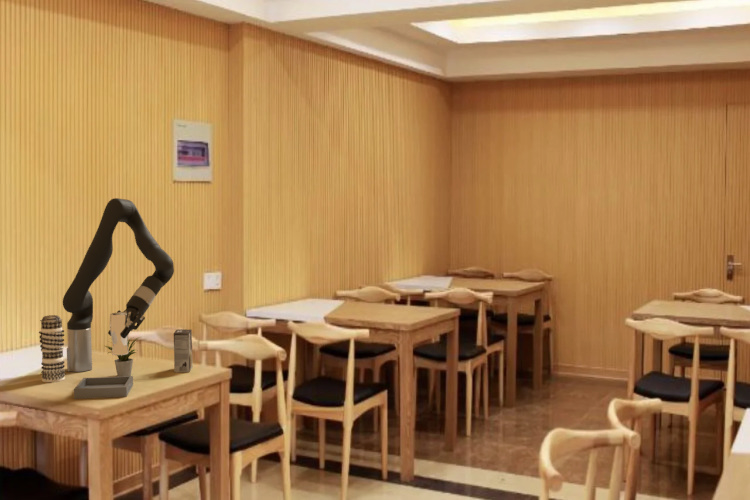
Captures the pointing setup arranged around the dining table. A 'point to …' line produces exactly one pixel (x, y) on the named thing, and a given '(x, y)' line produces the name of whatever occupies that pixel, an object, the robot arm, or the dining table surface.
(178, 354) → the coffee box
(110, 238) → the robot arm
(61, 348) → the decorative candle
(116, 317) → the beer glass
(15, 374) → the dining table surface
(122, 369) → the house plant
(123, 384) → the serving tray
